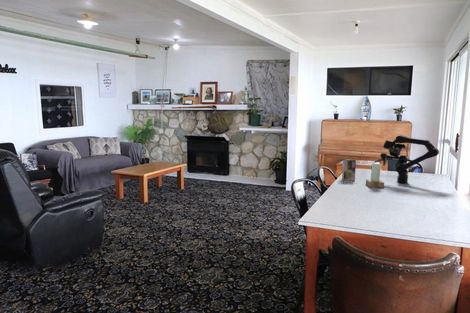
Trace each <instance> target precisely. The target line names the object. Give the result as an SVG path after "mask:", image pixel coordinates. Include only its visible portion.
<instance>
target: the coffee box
mask: <svg viewBox="0 0 470 313" xmlns="http://www.w3.org/2000/svg"><path fill="white" fill-rule="evenodd" d="M356 165H357V160H356V159H353V158H352V159H350V158H343V159H342V169H341V170H342V171H341V173H342V174H341V179H342V181H356V170H357V169H356Z"/></svg>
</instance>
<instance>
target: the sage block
mask: <svg viewBox="0 0 470 313" xmlns="http://www.w3.org/2000/svg"><path fill="white" fill-rule="evenodd" d="M381 165H382V164H381V163H379V162H372V163H371V169H370V170H371V172H370V180H371V181H374V182H378V181H379V180H381V179H380V177H381Z"/></svg>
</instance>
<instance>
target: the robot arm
mask: <svg viewBox="0 0 470 313" xmlns="http://www.w3.org/2000/svg"><path fill="white" fill-rule="evenodd" d="M405 144H414V145H420V146H424V147H425V148H426V150H427V152H426V153H424V154H423V155H420V156H418V157H416V158H414V159H413V160H410V161H408V158H407V155H404V154H401V152H402V149H406V145H405ZM382 148H383V149H385V150H388V153H384V152H381V153H380V158H381V160H382V162H383V163H382V164H383V166H385V165H386V164H387V162H388V159H391V160H398V161H397V163H396V164H395V171H396V172H397V174H398V175H397V177H396V182H397V183H399V184H409V182H408V181H409V171H408V169H410V168H411V167H413V166H416V165H417V164H419V163H421V162H423V161H425V160H427V159H431V158H435V157H437V156H438V155H439V154H440V150H439V149H438V148H437V147H435V146H434V144H433V143H431V141H430V139H419V138H414V137H413V138H412V137H408V136H405V135H397V136H396V137H395V139H394V140H393V141H391V140H387V139H385V141H384V144H383V147H382ZM388 154H389V155H388Z"/></svg>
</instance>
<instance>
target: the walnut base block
mask: <svg viewBox="0 0 470 313" xmlns="http://www.w3.org/2000/svg"><path fill="white" fill-rule="evenodd" d="M365 186H367V187H368V188H372V189H384V188H385V182H384V181H382V180H381V179H379V181H378V182H374V181H371V178H370V179H368V178H367V179H366V180H365Z"/></svg>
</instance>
